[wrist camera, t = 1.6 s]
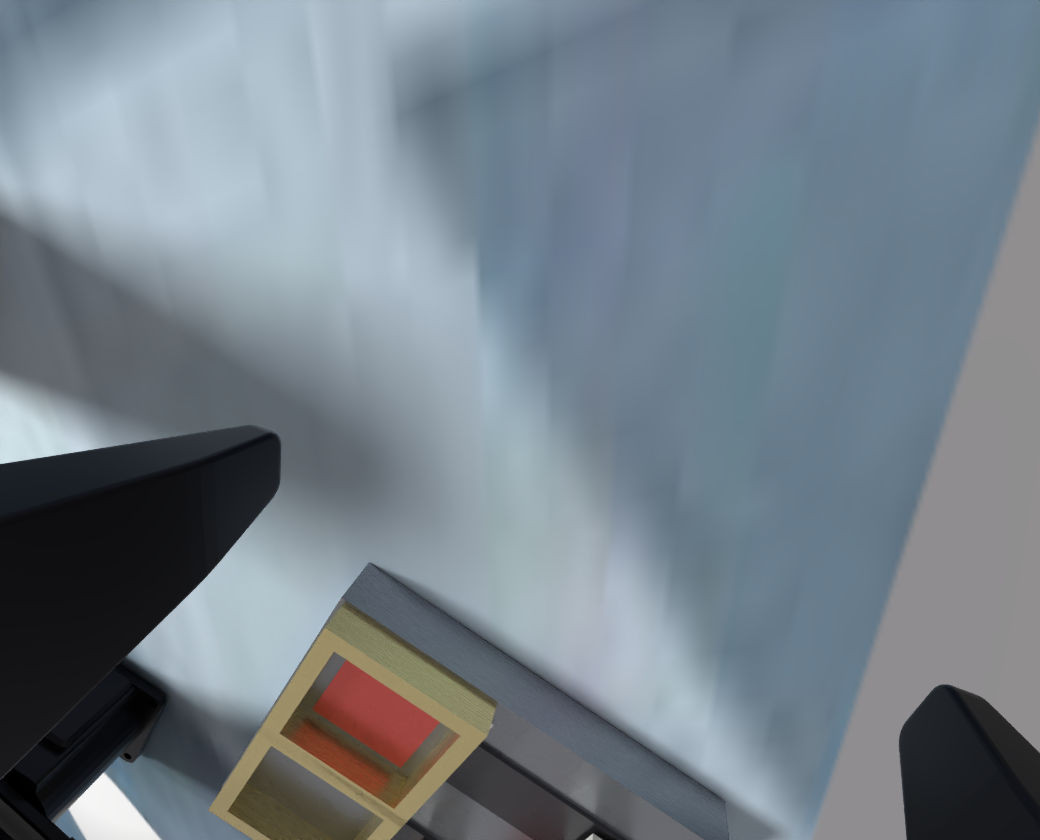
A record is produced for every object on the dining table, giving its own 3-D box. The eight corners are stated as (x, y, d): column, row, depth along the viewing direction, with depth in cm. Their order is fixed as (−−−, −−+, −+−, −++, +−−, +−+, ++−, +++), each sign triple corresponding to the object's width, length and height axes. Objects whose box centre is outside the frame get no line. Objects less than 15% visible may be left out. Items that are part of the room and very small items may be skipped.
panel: (541, 935, 33) (527, 1029, 29) (252, 745, 32) (200, 814, 28) (724, 801, 26) (736, 897, 23) (369, 562, 26) (322, 621, 22)
